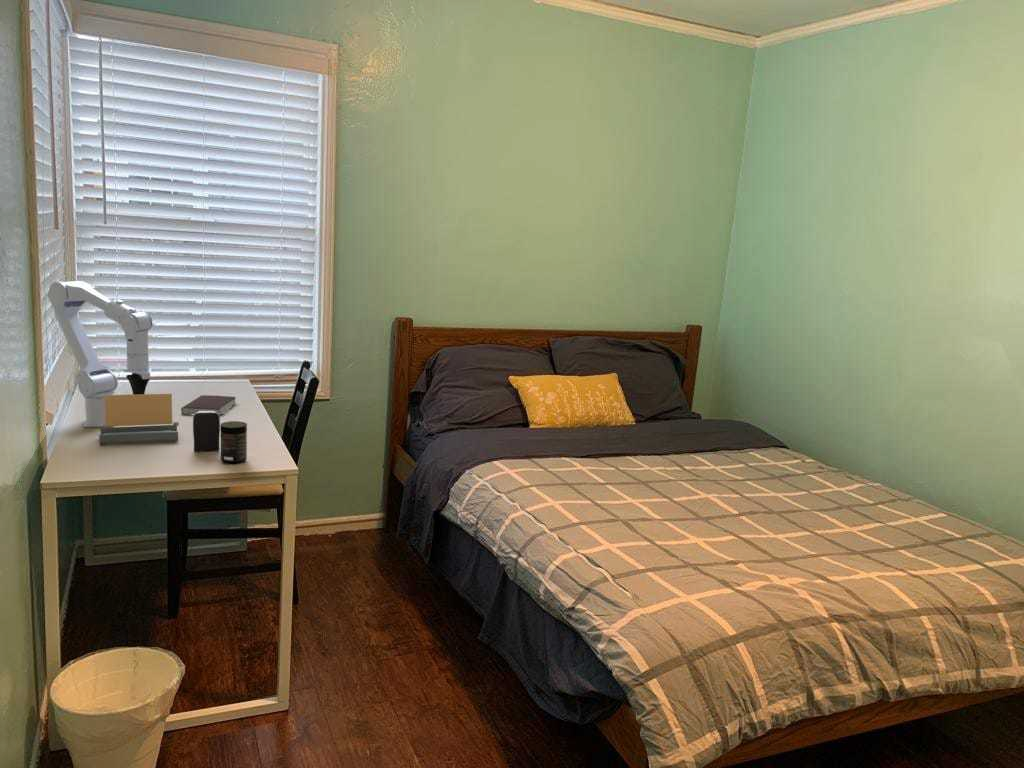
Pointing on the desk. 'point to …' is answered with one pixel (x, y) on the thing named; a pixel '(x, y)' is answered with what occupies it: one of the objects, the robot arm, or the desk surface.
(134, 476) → the desk surface
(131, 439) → the grey tray with rod
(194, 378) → the desk surface
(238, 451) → the supplement container
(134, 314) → the robot arm
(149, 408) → the cover
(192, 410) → the book
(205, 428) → the battery charger
